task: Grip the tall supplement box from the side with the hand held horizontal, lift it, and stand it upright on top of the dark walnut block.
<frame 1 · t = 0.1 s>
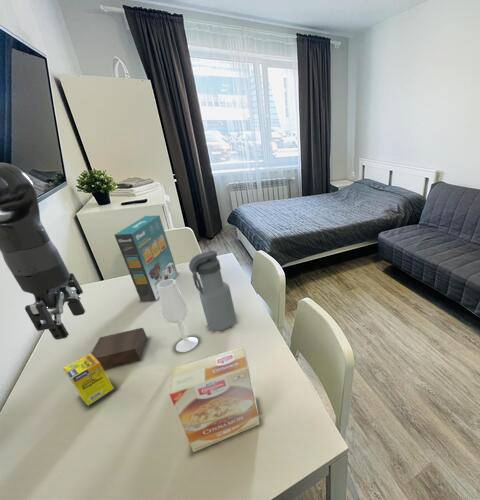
hand: (71, 325, 63), 24 cm above the table, tool pointing down, fingers open, 8 cm apart
supplement box: (98, 394, 74), on the table
champagne flute: (187, 344, 90), on the table
water bottle: (222, 323, 99), on the table
cake mix box: (161, 286, 122), on the table
coffeecake box: (227, 425, 65), on the table
block: (122, 354, 86), on the table
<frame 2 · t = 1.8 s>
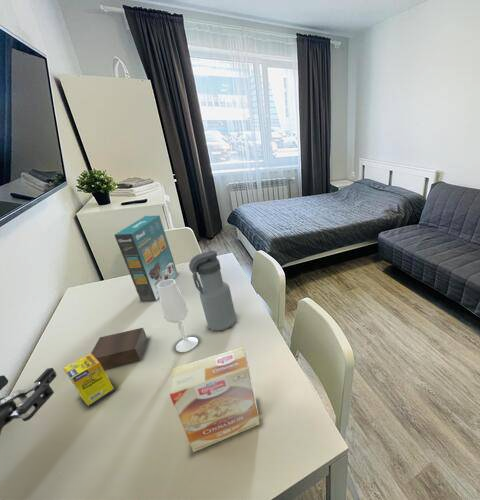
hand: (28, 374, 55), 20 cm above the table, tool horizontal, fingers open, 8 cm apart
nothing on the table moved.
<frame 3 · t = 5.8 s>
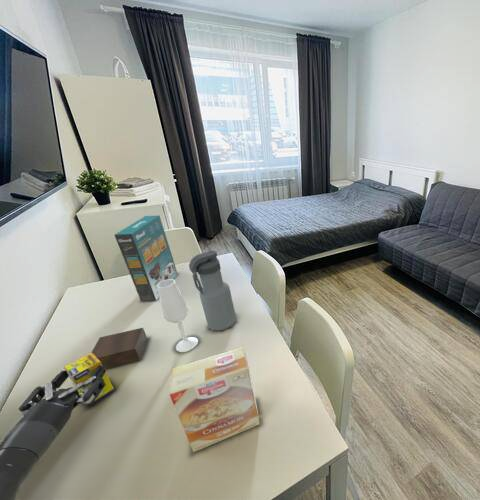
hand: (84, 370, 70), 9 cm above the table, tool horizontal, fingers closed on supplement box, 8 cm apart
supplement box: (98, 393, 74), on the table, touching gripper
everything else where it was.
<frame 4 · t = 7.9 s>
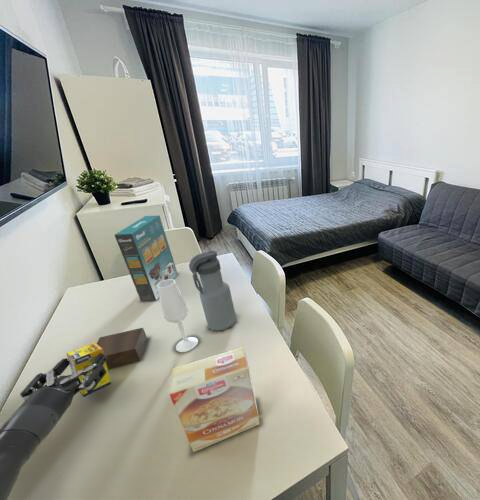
hand: (85, 358, 71), 11 cm above the table, tool horizontal, fingers closed on supplement box, 8 cm apart
supplement box: (94, 387, 73), point 2 cm above the table, touching gripper
everything else where it was.
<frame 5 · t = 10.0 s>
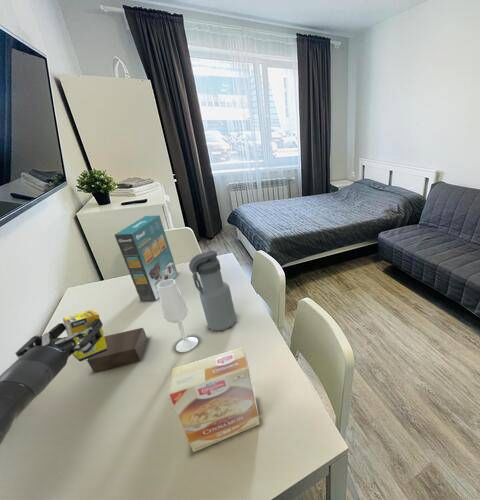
hand: (81, 323, 71), 20 cm above the table, tool horizontal, fingers closed on supplement box, 8 cm apart
supplement box: (90, 353, 73), point 11 cm above the table, touching gripper
everything else where it was.
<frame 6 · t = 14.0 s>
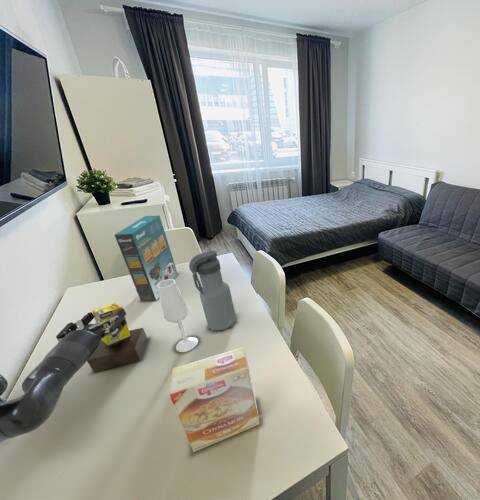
hand: (107, 312, 81), 15 cm above the table, tool horizontal, fingers closed on supplement box, 8 cm apart
supplement box: (117, 340, 84), point 6 cm above the table, touching block, gripper
everything else where it was.
when the fingers open (15 cm above the table, at t = 14.3 s): supplement box stays where it is, resting on block.
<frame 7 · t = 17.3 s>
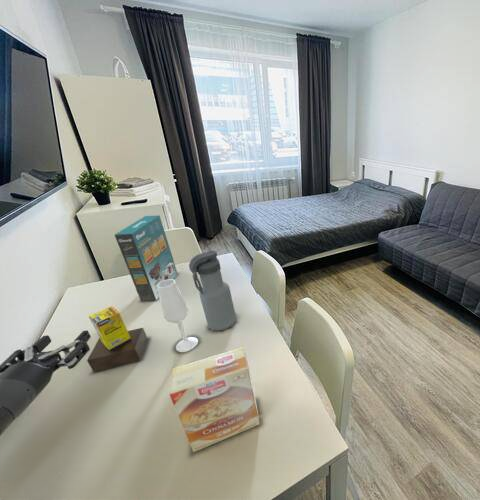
hand: (67, 335, 67), 19 cm above the table, tool horizontal, fingers open, 8 cm apart
supplement box: (117, 342, 84), point 5 cm above the table, touching block
everything else where it was.
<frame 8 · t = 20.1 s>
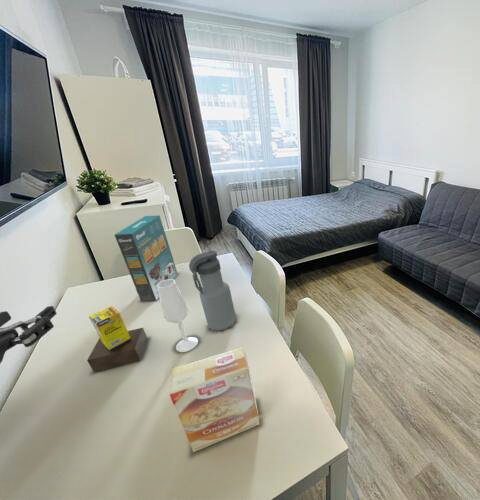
hand: (30, 312, 58), 30 cm above the table, tool horizontal, fingers open, 8 cm apart
nothing on the table moved.
at the end: supplement box inside the target area on the block (0.3 cm from its centre), point 4.8 cm above the block's base; supplement box tilted 0°; the gripper is holding nothing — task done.
